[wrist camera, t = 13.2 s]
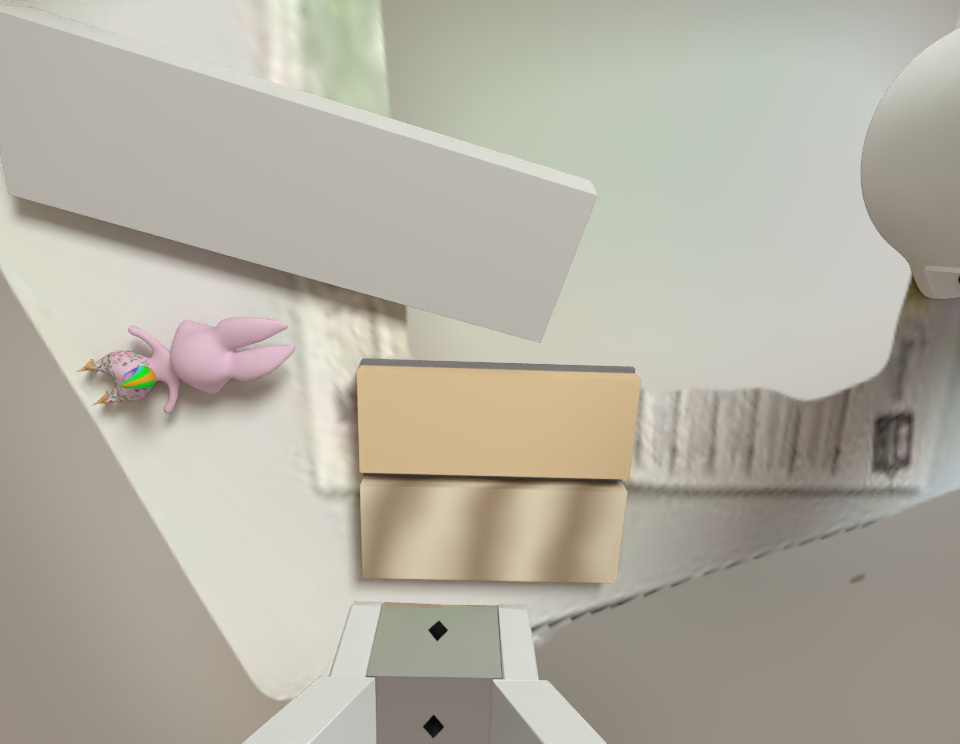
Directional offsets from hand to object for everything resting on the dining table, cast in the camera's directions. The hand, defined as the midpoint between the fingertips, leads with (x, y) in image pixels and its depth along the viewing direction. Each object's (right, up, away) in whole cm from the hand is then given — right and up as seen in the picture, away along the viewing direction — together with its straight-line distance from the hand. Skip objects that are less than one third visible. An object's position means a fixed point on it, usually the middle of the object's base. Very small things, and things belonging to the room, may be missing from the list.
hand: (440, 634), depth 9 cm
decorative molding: (-10, +17, +26) cm, 33 cm away
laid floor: (+2, -3, +31) cm, 31 cm away
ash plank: (+2, -7, +32) cm, 33 cm away
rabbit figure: (-19, +6, +29) cm, 35 cm away
